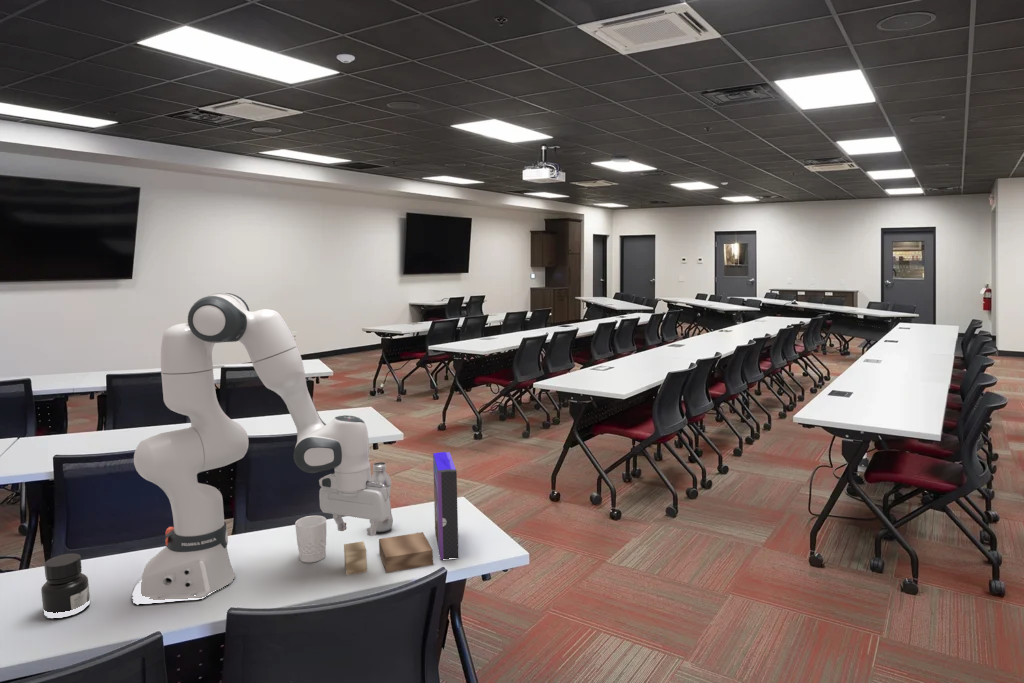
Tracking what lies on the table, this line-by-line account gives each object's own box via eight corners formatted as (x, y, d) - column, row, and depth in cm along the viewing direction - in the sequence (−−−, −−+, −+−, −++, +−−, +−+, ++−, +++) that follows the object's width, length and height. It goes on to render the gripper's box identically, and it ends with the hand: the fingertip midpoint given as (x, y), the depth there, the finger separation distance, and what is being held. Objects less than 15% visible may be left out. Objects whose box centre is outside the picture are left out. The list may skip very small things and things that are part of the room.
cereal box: (435, 533, 190) (432, 452, 187) (451, 532, 191) (449, 451, 188) (440, 560, 173) (438, 471, 170) (458, 558, 174) (456, 470, 171)
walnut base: (386, 572, 167) (385, 557, 166) (379, 553, 178) (378, 538, 178) (433, 564, 171) (432, 550, 170) (423, 546, 182) (422, 532, 182)
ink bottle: (86, 616, 148) (81, 565, 147) (38, 625, 145) (33, 573, 143) (94, 596, 157) (89, 547, 155) (49, 604, 153) (44, 554, 152)
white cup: (322, 548, 182) (321, 513, 180) (332, 558, 175) (330, 522, 174) (293, 555, 177) (291, 519, 176) (301, 566, 171) (299, 529, 170)
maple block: (346, 575, 166) (345, 552, 165) (344, 566, 171) (343, 544, 170) (367, 571, 168) (366, 549, 167) (364, 563, 172) (363, 541, 172)
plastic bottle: (396, 525, 196) (393, 460, 194) (389, 535, 189) (387, 467, 187) (374, 525, 197) (372, 460, 194) (367, 534, 190) (364, 467, 188)
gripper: (394, 479, 165) (397, 533, 166) (330, 472, 174) (334, 523, 175) (379, 487, 159) (382, 542, 161) (313, 479, 168) (317, 531, 170)
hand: (356, 532), depth 168 cm, fingers open, 8 cm apart
